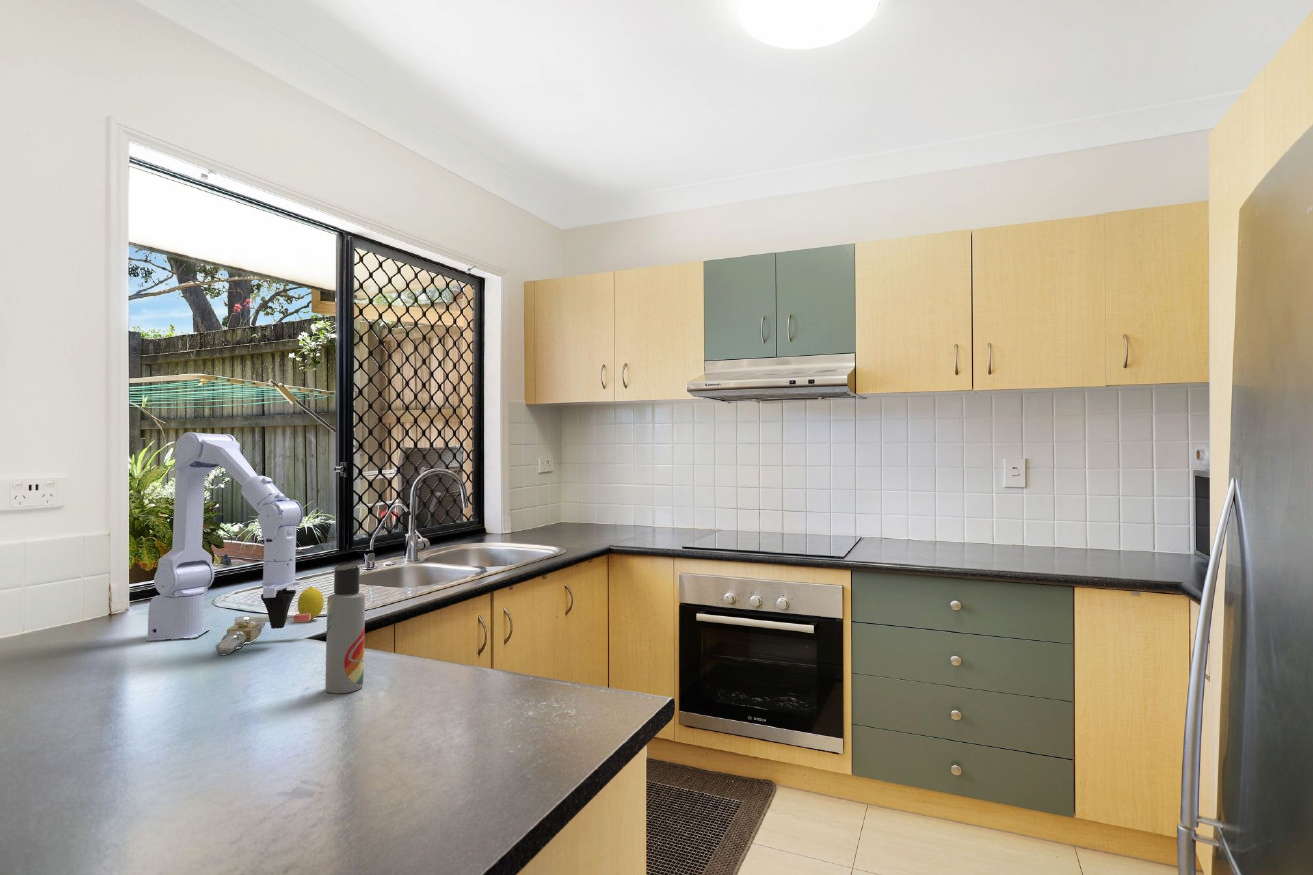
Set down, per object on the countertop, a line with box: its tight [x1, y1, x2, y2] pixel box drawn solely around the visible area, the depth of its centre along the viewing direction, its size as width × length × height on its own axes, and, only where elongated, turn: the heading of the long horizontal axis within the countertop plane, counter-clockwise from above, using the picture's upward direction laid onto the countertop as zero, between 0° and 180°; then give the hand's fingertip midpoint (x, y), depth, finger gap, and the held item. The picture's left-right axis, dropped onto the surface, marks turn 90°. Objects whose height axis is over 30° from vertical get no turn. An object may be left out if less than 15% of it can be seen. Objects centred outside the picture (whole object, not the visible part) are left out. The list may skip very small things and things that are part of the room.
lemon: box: [297, 586, 324, 622], centre depth 166 cm, size 6×6×8 cm
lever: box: [234, 613, 312, 625], centre depth 147 cm, size 14×3×1 cm, turn 105°
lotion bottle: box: [324, 563, 366, 695], centre depth 114 cm, size 6×6×20 cm
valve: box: [216, 623, 266, 655], centre depth 145 cm, size 22×4×4 cm, turn 15°
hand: (277, 627), depth 142 cm, fingers closed
